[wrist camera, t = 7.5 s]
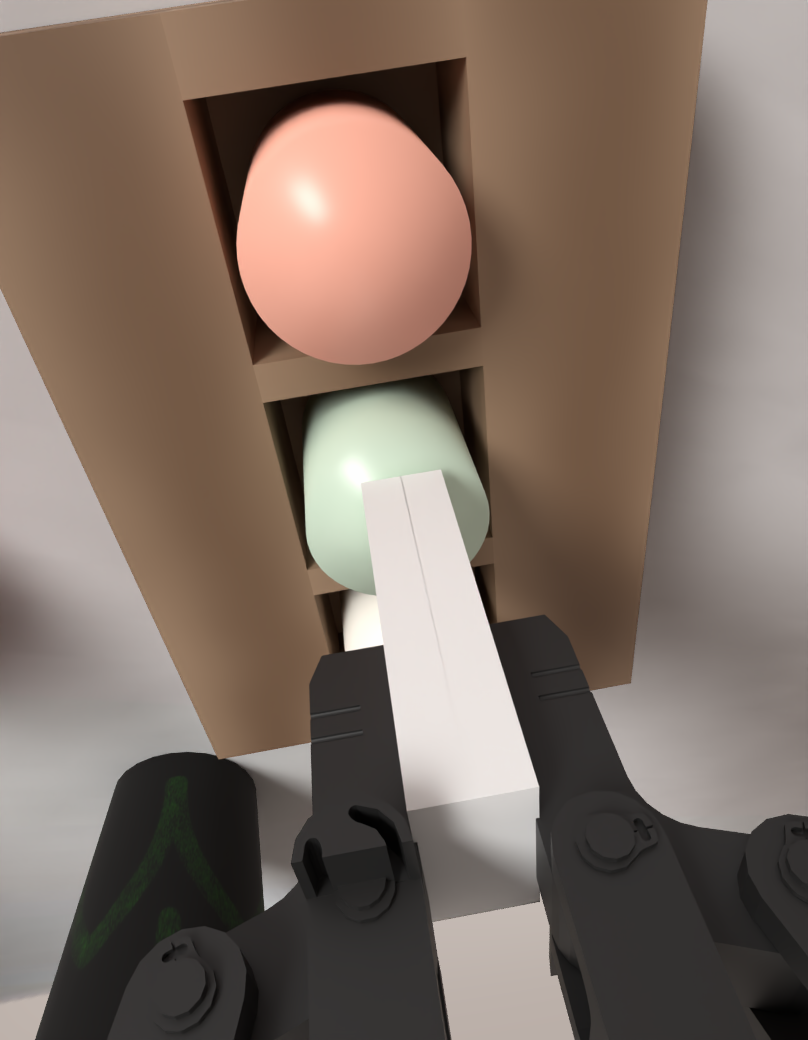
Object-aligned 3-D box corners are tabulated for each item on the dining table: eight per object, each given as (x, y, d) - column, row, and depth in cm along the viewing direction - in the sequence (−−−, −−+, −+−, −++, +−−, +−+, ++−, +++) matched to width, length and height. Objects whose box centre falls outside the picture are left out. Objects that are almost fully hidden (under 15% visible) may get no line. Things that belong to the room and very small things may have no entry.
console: (229, 633, 24) (218, 759, 21) (1, 33, 14) (-109, 52, 10) (575, 571, 25) (630, 683, 21) (597, -56, 15) (715, -70, 11)
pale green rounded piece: (317, 500, 18) (324, 609, 15) (286, 371, 16) (287, 466, 13) (457, 476, 18) (493, 579, 15) (445, 344, 16) (485, 433, 13)
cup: (318, 798, 31) (333, 1163, 21) (178, 865, 33) (133, 1233, 23) (197, 707, 27) (148, 1116, 17) (42, 791, 28) (-82, 1205, 19)
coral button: (270, 298, 15) (267, 381, 12) (226, 105, 13) (206, 144, 10) (437, 270, 15) (477, 345, 12) (420, 75, 13) (464, 105, 10)
